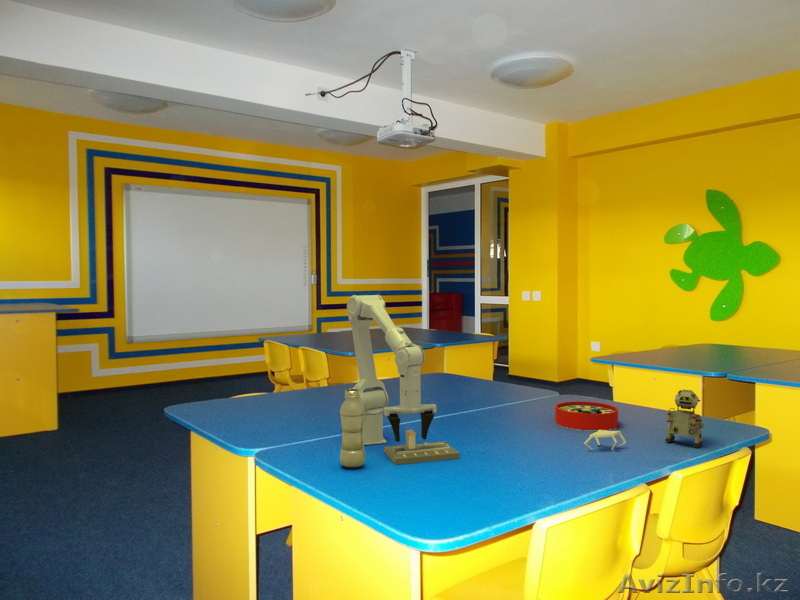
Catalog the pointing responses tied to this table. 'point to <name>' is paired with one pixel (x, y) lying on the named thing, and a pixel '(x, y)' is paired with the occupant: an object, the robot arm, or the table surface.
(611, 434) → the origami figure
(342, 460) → the plastic bottle
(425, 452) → the console
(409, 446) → the fader
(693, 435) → the figurine
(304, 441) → the table surface
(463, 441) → the table surface
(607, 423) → the red round tray
